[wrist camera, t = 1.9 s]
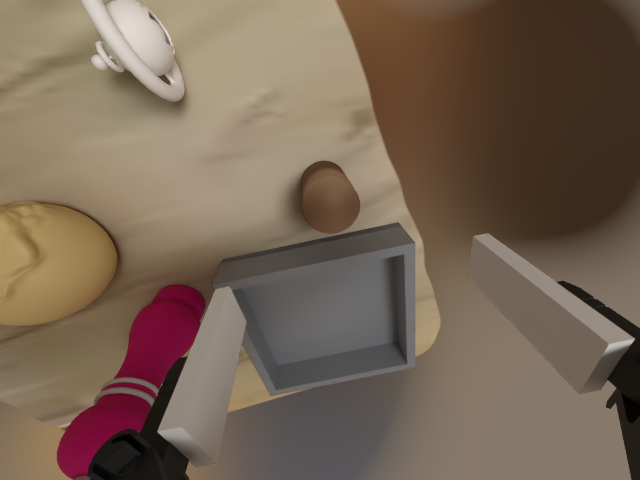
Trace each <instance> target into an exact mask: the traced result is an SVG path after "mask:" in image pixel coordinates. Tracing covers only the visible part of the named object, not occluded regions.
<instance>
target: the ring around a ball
mask: <svg viewBox="0 0 640 480" xmlns="http://www.w3.org/2000/svg"><path fill="white" fill-rule="evenodd" d="M80 1H81V3H82V5H83V7H84V9H85V11H86V13H87V14H88V16H89V18H90V20H91V21H92V23H93V24H94V26H95V27H96V29H97V31H98V32H99V34H100V35H101V38H102V41H97V42H96V44H95V46H96V49H97V52H98V53H99V55H94V56H93V57H92V58H91V62H92V64H93V66H94V67H95V68H96V69H98V70H100V71H106V70H107V69H108V67H110V68H112V69H113V70H115V71H116V72H119V73H122V72H124V69H126V70H128V71H130V72H131V73H132V74H133V75H134V76H135V77H136V78H137V79H138V80H139V81H140V82H141V83H142V84H143V85H144V86H146V87H147V88H148V89H149V90H150V91H152V92H153V93H155V94H156V95H158V96H159V97H161V98H163V99H165V100H168V101H173V102H176V101H179V100H181V99H182V97H183V96H184V92H185V86H184V81H183V78H182V74H181V72H180V69H179V67H178V65H177V63H176V60H175V59H174V58H175V49H174V46H173V44H172V41H171V38H170V36H169V34H168V33H167V31H166V29H165V28H164V26H163V25H162V23H161V22H160V20H159V19H158V18H157V17H156V16H155V14H154V13H152V11H151V10H150V9H149V8H148V7H146V6H145V5H144V4H142V3H140V2H137V1H136V0H113V1H111V2H110V3H108V4H107V5H106V6H105V5H104V3H103V1H102V0H80ZM103 48H104V49H105V50H106V51H108V52H109V53H110V56H107V55H106V53H105V52H104V50H103ZM112 58H114V59H115V61H116V63H117V65H118V66H117V65H116V64H114V63H113V62H112V61H111V59H112ZM163 74H164V75H165V76H166V77H167V78H168V80H169V81H170V85H168V84H166V83H165V82H163V81H162V80H161V79H160V78H158V76H161V75H163Z"/></svg>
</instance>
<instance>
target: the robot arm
mask: <svg viewBox="0 0 640 480" xmlns="http://www.w3.org/2000/svg"><path fill="white" fill-rule="evenodd" d="M468 278H469V279H470V280H471V281H472V282H473V283H474V284H475V285H476V286H477V287H478V288H479V289H480V290H481V291H482V293H483V294H484V295H485V296H486V297H487V298H488V299H489V300H490V301H491V302H492V303H493V304H494V305H495V306H496V307H497V308H498V309H499V310H500V311H501V313H502V314H503V315H504V316H505V317H506V318H507V319H508V320H509V321H510V322H511V323H512V324H513V325H514V326H515V327H516V328H517V329H518V330H519V331H520V333H521V334H522V335H523V336H524V337H525V338H526V339H527V340H528V341H529V342H530V343H531V344H532V345H533V346H534V347H535V348H536V349H537V350H538V351H539V352H540V354H542V356H543V357H544V358H545V359H546V360H547V361H548V362H549V363H550V364H551V365H552V366H553V367H554V368H555V369H556V370H557V371H558V373H559V374H560V375H562V377H563V378H564V379H565V380H566V381H567V382H568V383H569V384H570V385H571V386H572V387H573V388H574V389H575V390H576V391H577V392H578V394H582V393H588V392H593V391H598V390H601V389H602V387H603V386H604V384H605V383H606V381H607V380H609V381H610V382H611V383H612V384H613V385H614V386H615V387H616V390H615V391H614V392H613V394H612V395H611V397H610V398H609V399H608V401H607V404H606V407H607V408H609V409H611V408H612V406H613V405H614V404H615V402H616V405H617V410H618V415H619V420H620V424H621V430H622V435H623V440H624V445H625V449H626V454H627V459H628V464H629V469H630V474H631V479H632V480H640V328H638V327H637V326H636V325H634V324H632V323H631V322H630V321H628V320H627V319H625V318H624V317H622V316H621V315H619V314H617V313H616V312H615V311H613V310H612V309H610V308H609V307H606V306H605V304H603V303H602V302H600V301H599V300H597V299H594V297H593V296H591V295H590V294H588V293H587V292H585V291H584V290H582V289H581V288H579V287H577V286H574V285H572V284H570V283H567V282H565V281H560V282H555V281H554V280H552V279H551V278H550V277H548V276H546V275H545V274H544V273H542V272H541V271H540V270H538V269H537V268H536V267H534V266H533V265H531V264H530V263H529V262H527V261H526V260H524V259H523V258H522V257H520V256H519V255H517V254H516V253H515V252H513V251H512V250H510V249H509V248H508V247H506V246H505V245H503V244H502V243H501V242H499V241H498V240H496V239H495V238H494V237H492V236H491V235H490V234H488V233H487V234H483V235H478V236H474V237H473V244H472V251H471V258H470V265H469V273H468ZM245 327H246V319H245V317H244V315H243V313H242V311H241V309H240V307H239V305H238V303H237V301H236V299H235V297H234V294H233V292H232V290H231V288H230V286H228V287H223V288H218V289H215V292H214V294H213V297H212V299H211V301H210V304H209V306H208V309H207V311H206V314H205V316H204V319H203V321H202V324H201V326H200V328H199V331H198V333H197V336H196V338H195V341H194V343H193V346H192V348H191V350H190V353H189V355H188V357H183V358H178V359H177V360H176V362H175V363H174V364H173V365H172V367H171V368H170V369H169V370H168V372H167V375H166V377H165V379H164V381H163V383H162V384H163V385H162V386H161V388H160V390H159V392H158V396H157V397H156V398H155V401H154V403H153V405H152V407H151V409H150V412H149V414H148V416H147V418H146V420H145V422H144V425H143V427H142V429H141V431H140V433H138V432H137V431H136V430H135V429H129V428H128V429H125V430H122V431H119V432H118V433H116V434H115V435H113V436H111V437H110V438H109V439H108V440H107V441H106V442H105V443H104V444H103V445H102V446H101V447H100V448H99V450H98V451H97V452H96V454H95V455H94V456H93V458H92V461H91V463H90V465H89V467H88V474H87V477H89V478H91V479H89V480H189V478H188V476H187V475H186V473H185V472H186V468H187V465H188V462H191V464H193V465H194V466H195V467H201V466H205V465H211V464H216V462H217V457H218V453H219V448H220V444H221V439H222V434H223V429H224V425H225V420H226V416H227V411H228V406H229V402H230V397H231V392H232V388H233V383H234V378H235V373H236V369H237V364H238V359H239V355H240V350H241V345H242V341H243V336H244V331H245Z"/></svg>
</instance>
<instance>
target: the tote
mask: <svg viewBox="0 0 640 480" xmlns="http://www.w3.org/2000/svg"><path fill="white" fill-rule="evenodd" d="M228 286H230V288H231V290H232V292H233V294H234V297H235V299H236V301H237V303H238V305H239V307H240V309H241V311H242V313H243V315H244V317H245V319H246V327H245V331H244V336H243V341H242V343H243V345H244V347H245V349H246V351H247V353H248V355H249V356H250V358H251V360H252V362H253V364H254V366H255V368H256V370H257V371H258V373H259V375H260V377H261V379H262V381H263V383H264V385H265V386H266V388H267V390H268V392H269V394H270V396H273V395H278V394H283V393H288V392H293V391H298V390H303V389H308V388H313V387H318V386H323V385H328V384H333V383H338V382H343V381H348V380H353V379H358V378H363V377H368V376H373V375H378V374H383V373H388V372H393V371H398V370H403V369H408V368H413V367H415V242H414V241H413V240H412V238H411V237H410V236H409V235H408V233H407V232H406V231H405V230H404V229H403V227H402V226H401V225H400V224H399V222H398V223H393V224H389V225H384V226H379V227H375V228H370V229H365V230H360V231H356V232H351V233H346V234H341V235H337V236H332V237H327V238H323V239H318V240H313V241H308V242H304V243H299V244H294V245H289V246H285V247H280V248H275V249H271V250H266V251H261V252H256V253H252V254H247V255H242V256H237V257H233V258H228V259H223V260H222V263H221V265H220V267H219V270H218V272H217V274H216V276H215V279H214V281H213V283H212V287H213V289H214V291H215V289H218V288H223V287H228Z"/></svg>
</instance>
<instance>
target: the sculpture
mask: <svg viewBox="0 0 640 480" xmlns="http://www.w3.org/2000/svg"><path fill="white" fill-rule="evenodd" d="M116 267H117V252H116V249H115V246H114V244H113V242H112V240H111V239H110V237H109V236H108V234H107V233H106V232H105V231H104V230H103V228H102V227H101V226H99V225H98V224H97V223H96V222H95V221H93V220H92V219H91V218H89V217H87V216H86V215H84V214H82V213H80V212H78V211H75V210H73V209H70V208H66V207H63V206H58V205H52V204H42V203H37V202H34V201H23V202H14V203H10V204H8V205H3V206H1V205H0V324H2V325H12V326H27V325H37V324H43V323H48V322H52V321H55V320H58V319H61V318H64V317H66V316H69V315H71V314H73V313H75V312H77V311H79V310H80V309H82V308H84V307H85V306H87V305H88V304H90V303H91V302H92V301H94V300H95V299H96V298H97V297H98V296H99V295H100V294H101V293H102V292H103V291H104V290H105V289H106V288H107V286H108V285H109V284H110V282H111V280H112V278H113V276H114V274H115V271H116Z"/></svg>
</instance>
